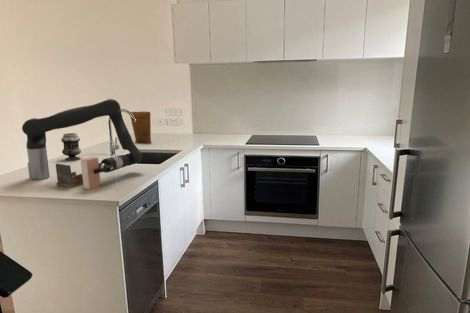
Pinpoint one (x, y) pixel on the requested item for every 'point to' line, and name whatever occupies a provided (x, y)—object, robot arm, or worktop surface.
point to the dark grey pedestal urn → (71, 146)
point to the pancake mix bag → (142, 127)
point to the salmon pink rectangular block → (90, 173)
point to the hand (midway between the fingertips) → (88, 170)
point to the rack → (67, 176)
